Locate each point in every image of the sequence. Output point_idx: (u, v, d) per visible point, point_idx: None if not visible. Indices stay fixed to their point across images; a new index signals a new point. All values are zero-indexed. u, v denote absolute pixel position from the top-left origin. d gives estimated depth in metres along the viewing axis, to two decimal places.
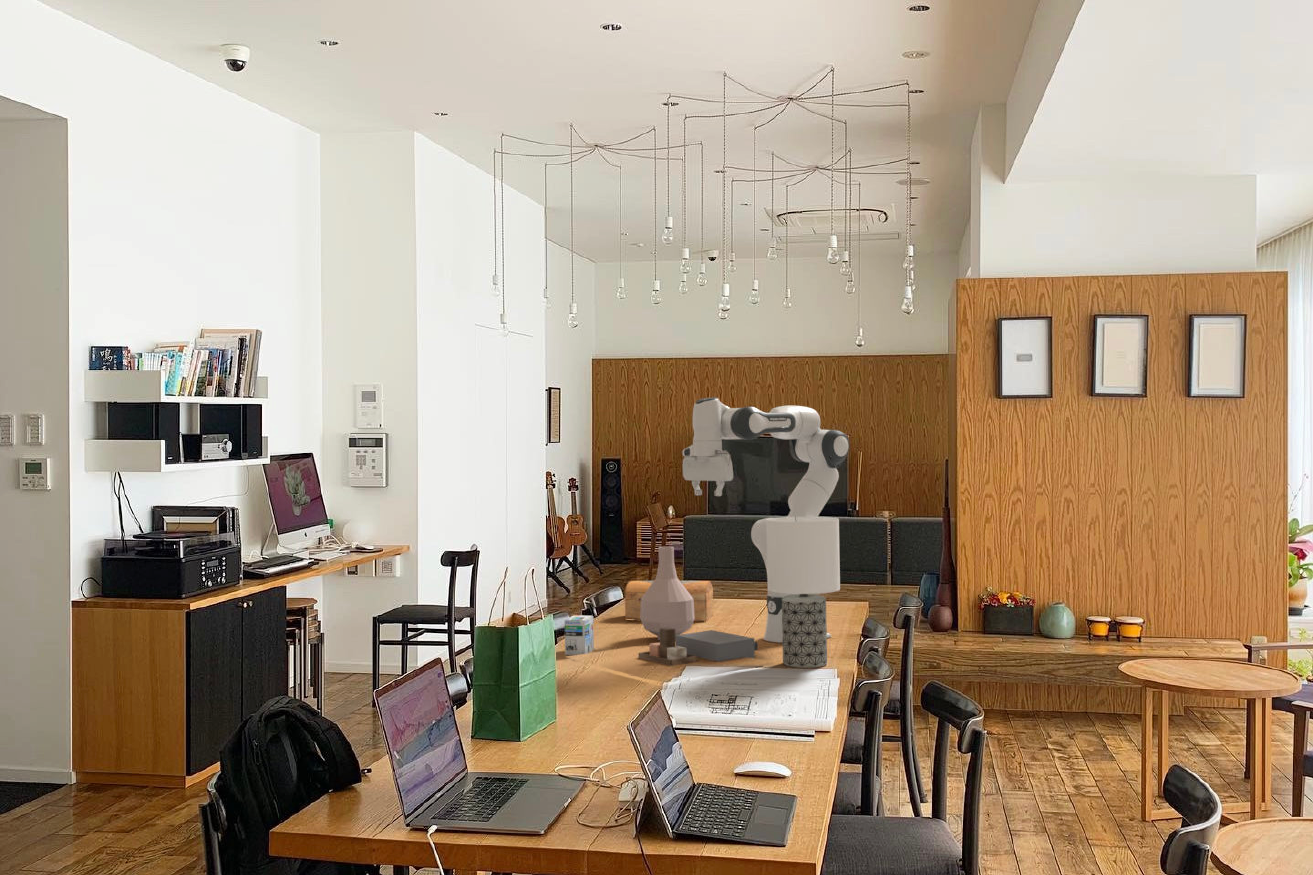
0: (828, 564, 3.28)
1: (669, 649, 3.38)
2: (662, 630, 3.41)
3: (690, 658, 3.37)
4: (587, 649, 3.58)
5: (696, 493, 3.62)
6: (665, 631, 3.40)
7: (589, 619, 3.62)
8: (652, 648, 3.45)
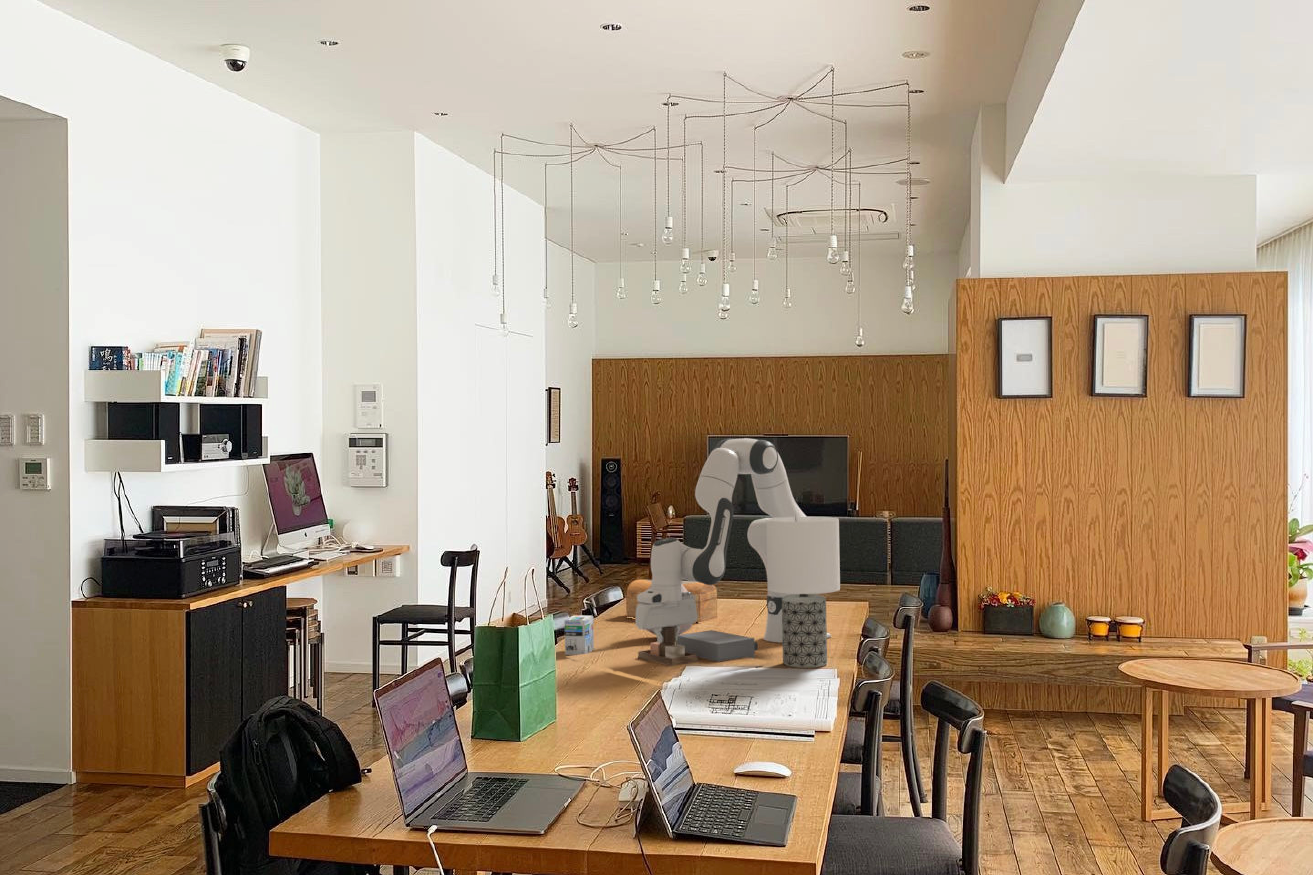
0: (828, 564, 3.28)
1: (667, 647, 3.38)
2: (662, 629, 3.41)
3: (690, 656, 3.37)
4: (587, 649, 3.58)
5: (663, 640, 3.40)
6: (665, 630, 3.40)
7: (589, 619, 3.62)
8: (653, 647, 3.44)
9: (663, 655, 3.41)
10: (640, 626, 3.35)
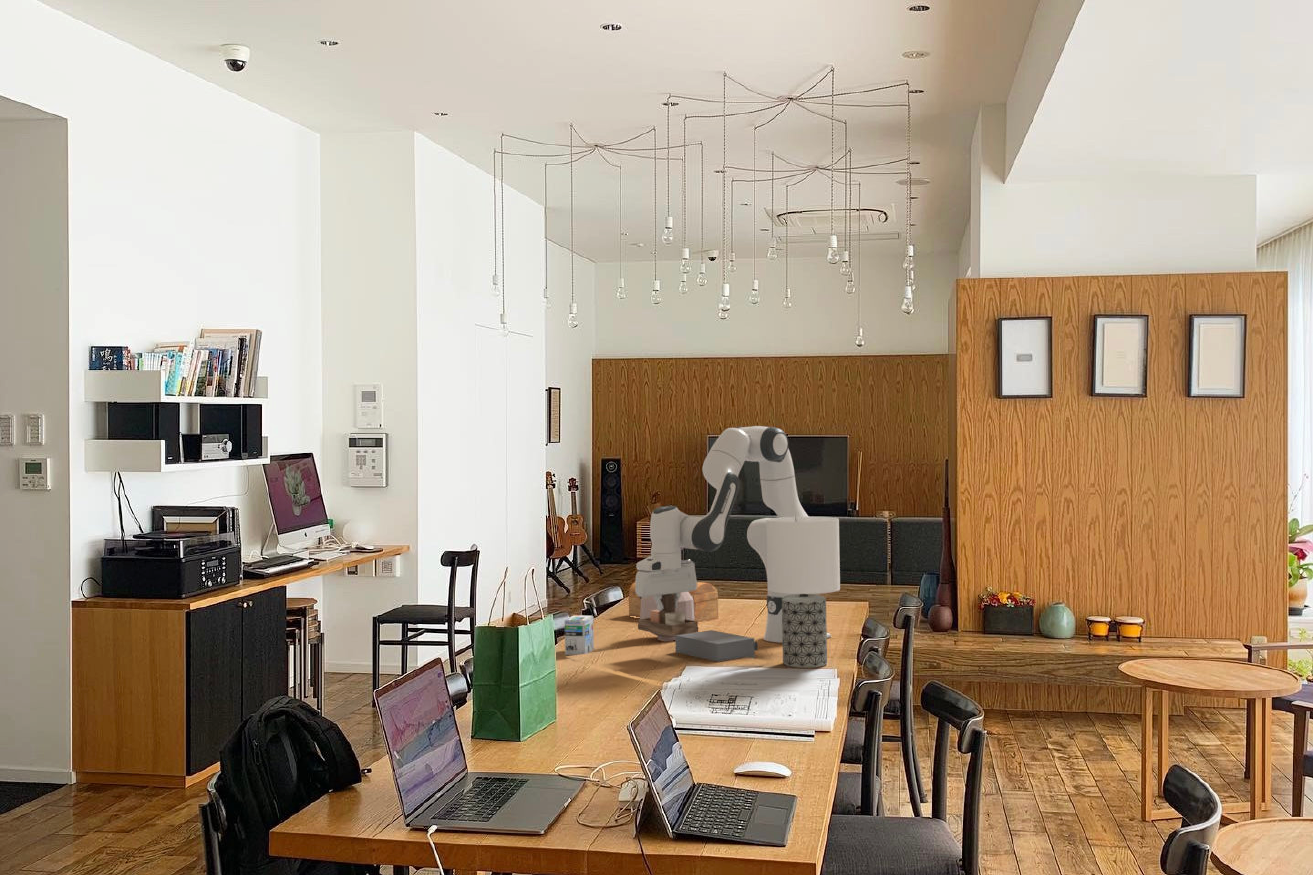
0: (828, 564, 3.28)
1: (667, 614, 3.39)
2: (662, 596, 3.41)
3: (690, 623, 3.37)
4: (587, 649, 3.58)
5: (663, 608, 3.40)
6: (665, 597, 3.40)
7: (589, 619, 3.62)
8: (653, 615, 3.44)
9: (663, 622, 3.41)
10: (640, 594, 3.36)
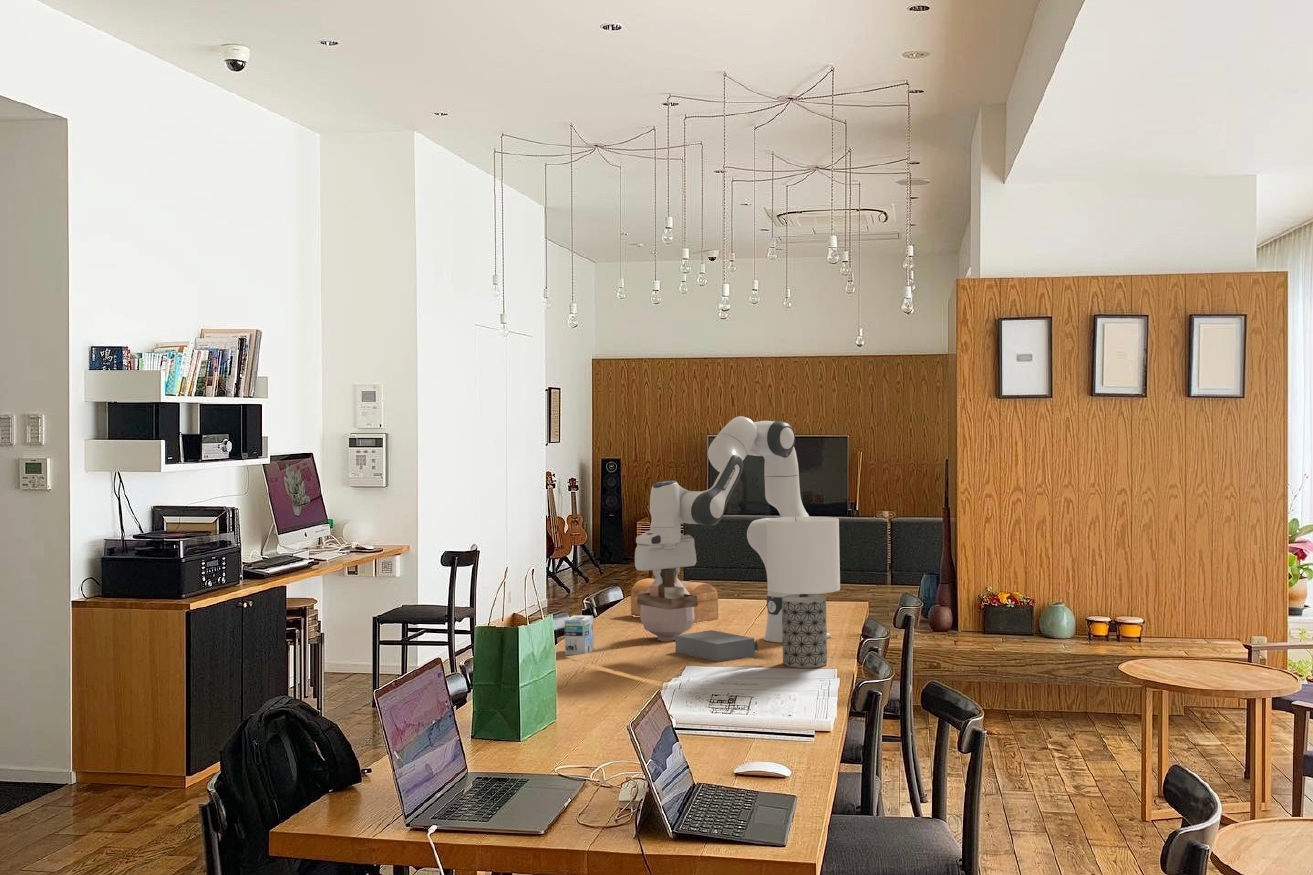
0: (828, 564, 3.28)
1: (666, 589, 3.39)
2: (661, 570, 3.41)
3: (689, 597, 3.37)
4: (587, 649, 3.58)
5: (662, 582, 3.40)
6: (664, 571, 3.40)
7: (589, 619, 3.62)
8: (652, 590, 3.44)
9: (662, 597, 3.41)
10: (639, 567, 3.36)
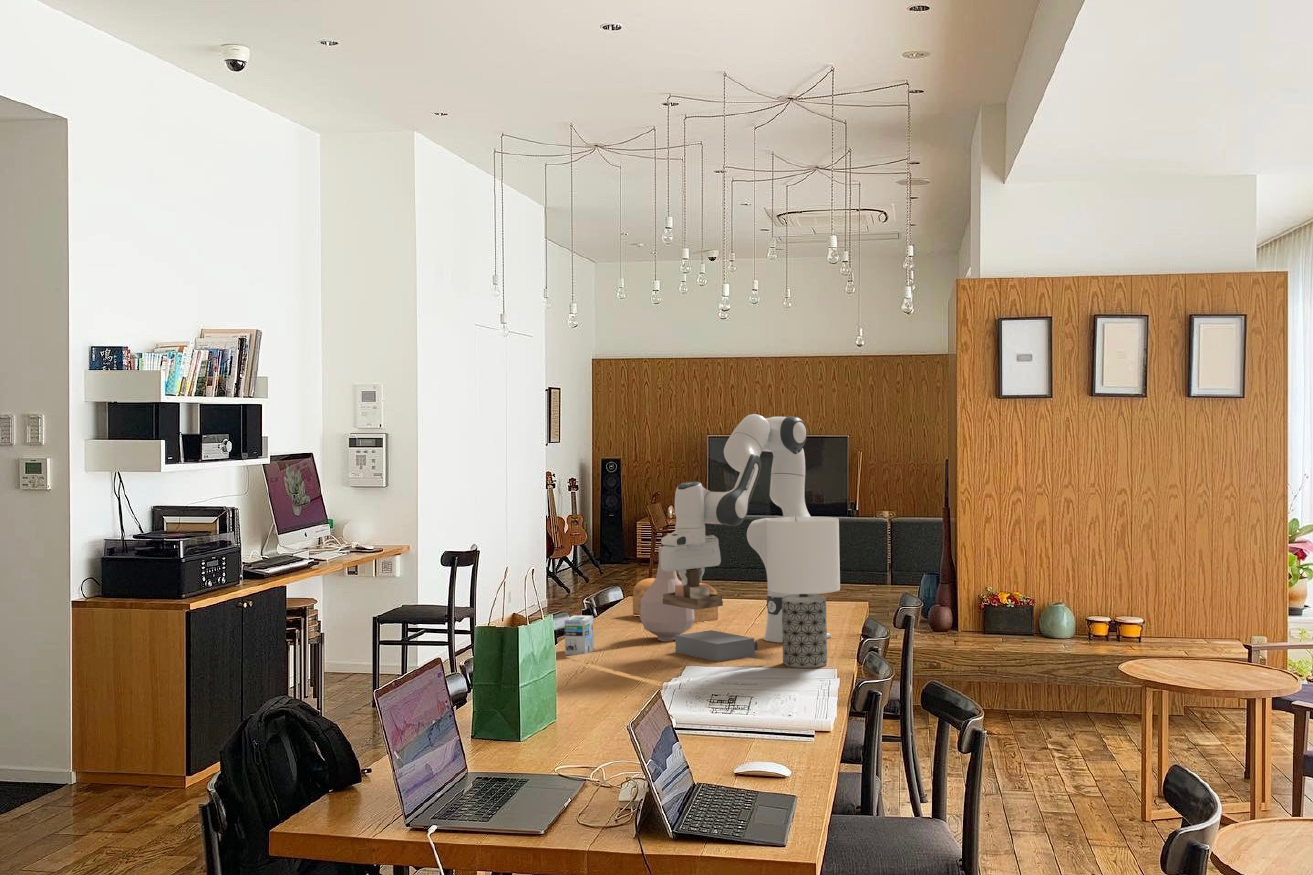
0: (828, 564, 3.28)
1: (692, 589, 3.43)
2: (686, 571, 3.46)
3: (714, 597, 3.41)
4: (587, 649, 3.58)
5: (687, 582, 3.44)
6: (689, 571, 3.44)
7: (589, 619, 3.62)
8: (677, 589, 3.49)
9: (688, 597, 3.45)
10: (665, 568, 3.40)
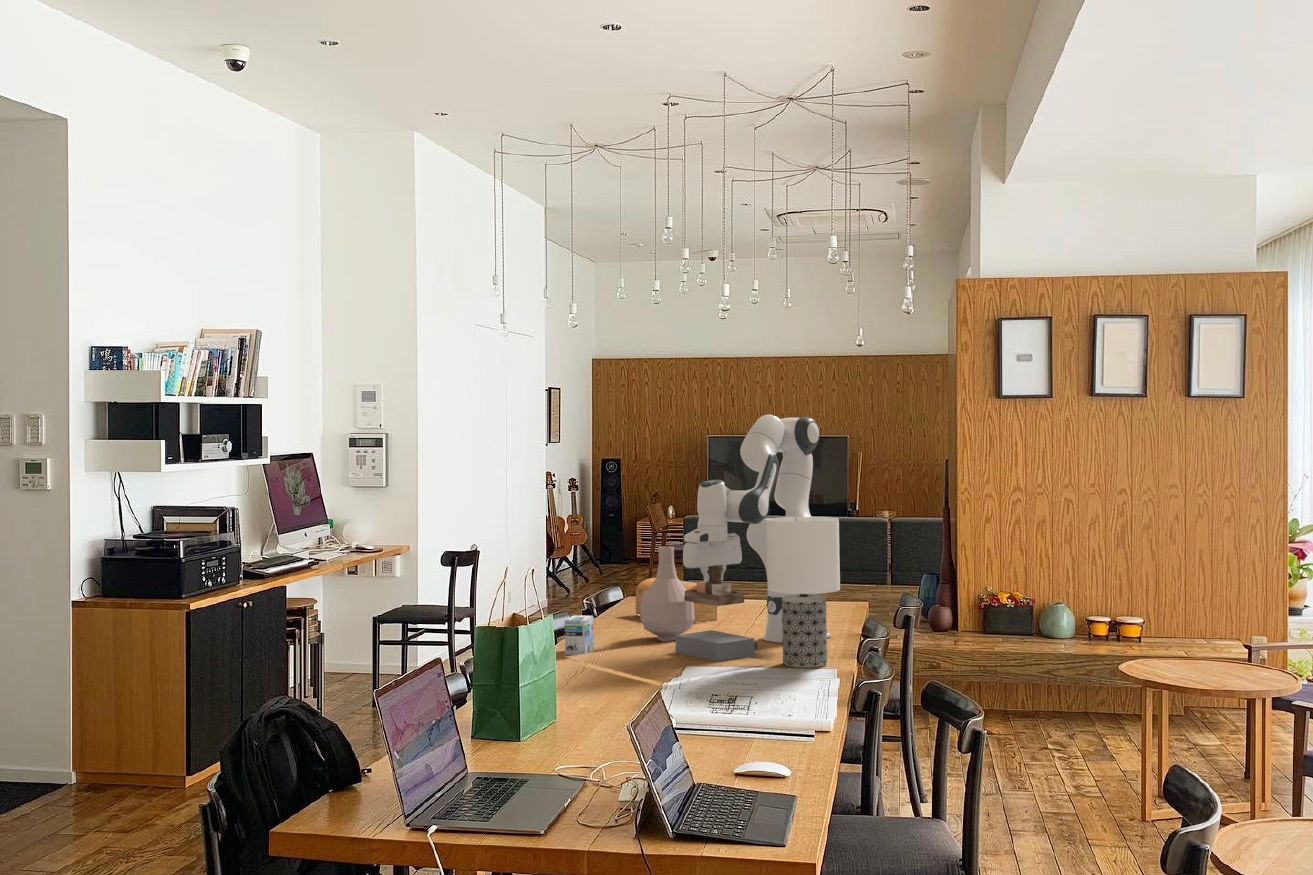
0: (828, 564, 3.28)
1: (714, 585, 3.46)
2: (708, 568, 3.49)
3: (736, 594, 3.45)
4: (587, 649, 3.58)
5: (709, 579, 3.48)
6: (711, 568, 3.48)
7: (589, 619, 3.62)
8: (699, 586, 3.52)
9: (709, 593, 3.49)
10: (688, 565, 3.43)
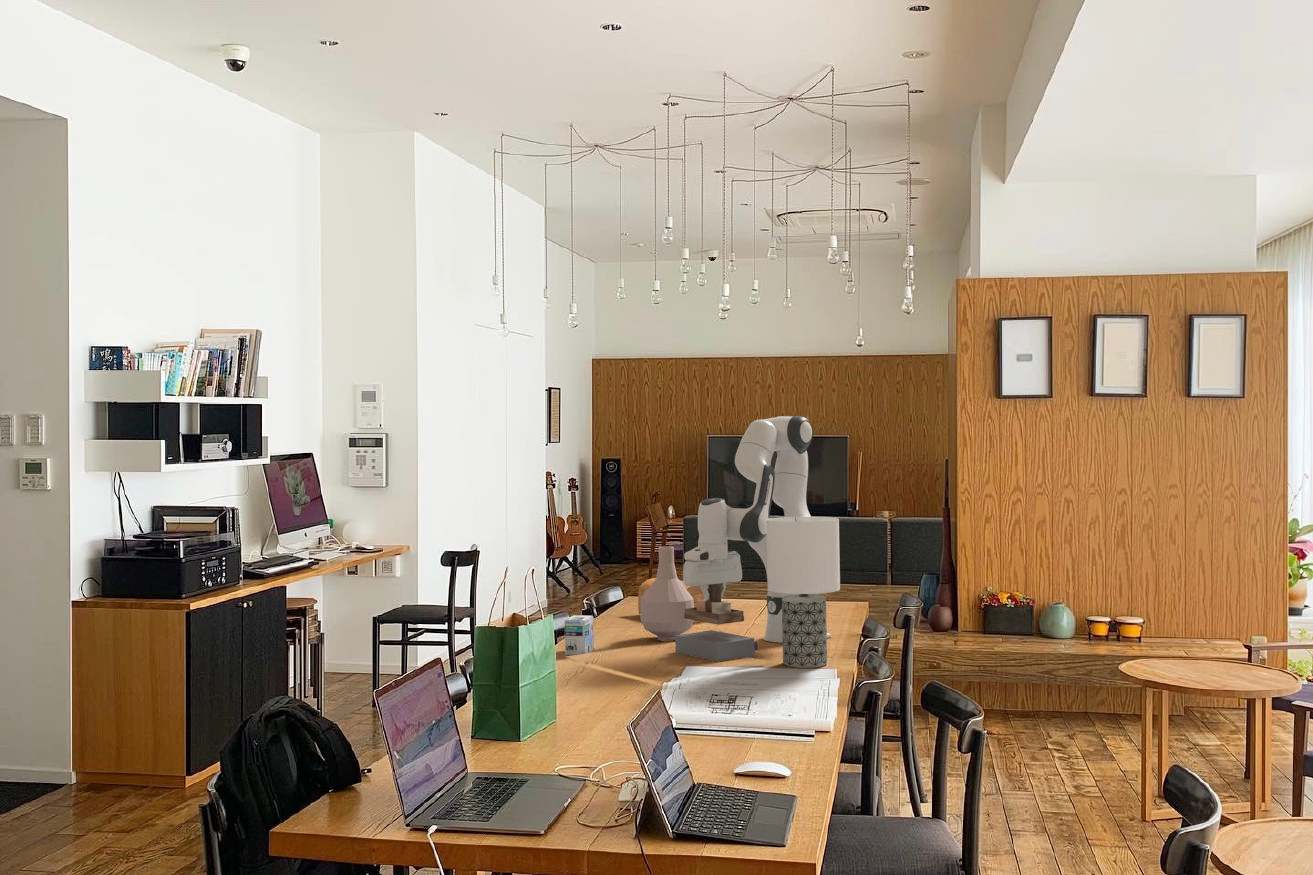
0: (828, 564, 3.28)
1: (714, 604, 3.46)
2: (708, 586, 3.49)
3: (736, 612, 3.45)
4: (587, 649, 3.58)
5: (709, 598, 3.48)
6: (711, 587, 3.48)
7: (589, 619, 3.62)
8: (699, 604, 3.52)
9: (709, 612, 3.49)
10: (688, 583, 3.43)
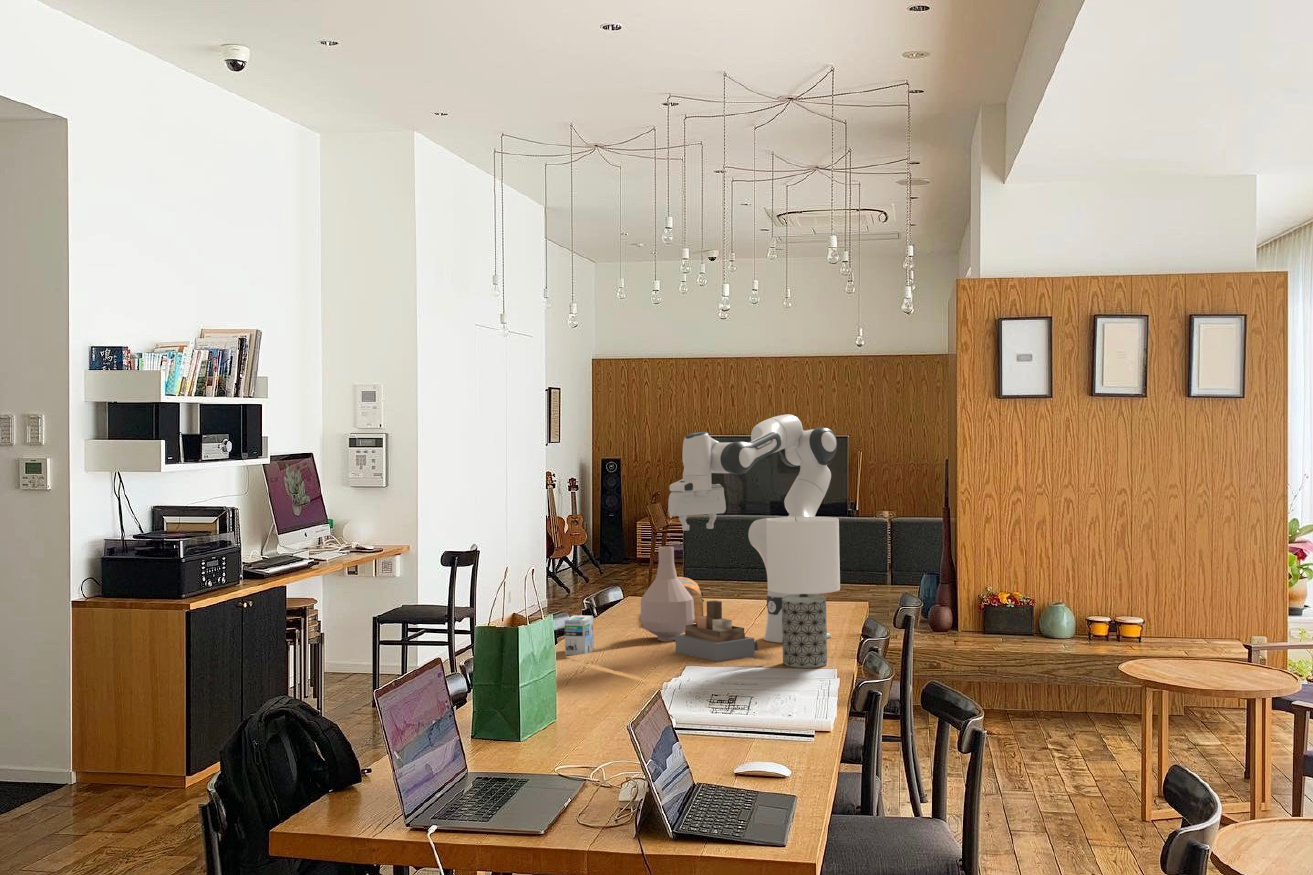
0: (828, 564, 3.28)
1: (715, 621, 3.46)
2: (709, 603, 3.49)
3: (737, 630, 3.45)
4: (587, 649, 3.58)
5: (688, 528, 3.58)
6: (712, 604, 3.48)
7: (589, 619, 3.62)
8: (700, 621, 3.52)
9: (710, 628, 3.49)
10: (673, 513, 3.55)
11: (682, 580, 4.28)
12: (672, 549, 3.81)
